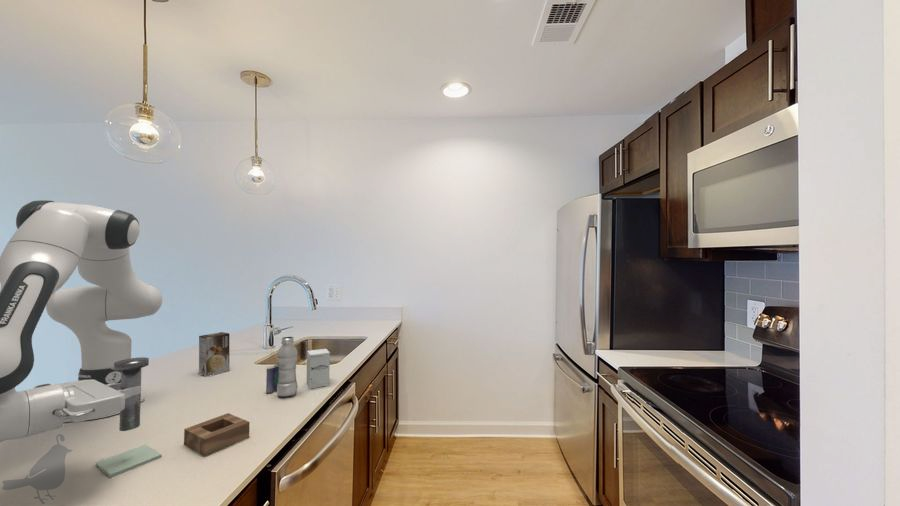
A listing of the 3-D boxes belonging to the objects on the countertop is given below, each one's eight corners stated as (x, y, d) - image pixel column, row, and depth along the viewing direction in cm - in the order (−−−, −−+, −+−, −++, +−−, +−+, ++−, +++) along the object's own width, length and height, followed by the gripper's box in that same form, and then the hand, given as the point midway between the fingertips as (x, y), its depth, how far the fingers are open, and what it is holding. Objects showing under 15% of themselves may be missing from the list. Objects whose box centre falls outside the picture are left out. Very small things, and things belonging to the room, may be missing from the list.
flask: (268, 394, 120) (269, 363, 120) (263, 393, 121) (264, 362, 122) (292, 386, 128) (292, 357, 128) (287, 384, 129) (287, 356, 130)
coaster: (95, 465, 78) (95, 462, 78) (145, 446, 86) (145, 444, 86) (110, 477, 74) (110, 474, 74) (161, 456, 81) (161, 454, 81)
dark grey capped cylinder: (107, 429, 79) (109, 362, 79) (141, 419, 84) (142, 356, 84) (117, 436, 76) (119, 365, 76) (151, 425, 81) (153, 359, 81)
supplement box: (308, 389, 124) (309, 354, 125) (306, 383, 131) (306, 350, 131) (329, 386, 128) (330, 352, 128) (326, 380, 134) (326, 347, 135)
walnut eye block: (183, 444, 87) (184, 428, 87) (227, 427, 96) (228, 413, 96) (204, 456, 82) (205, 439, 82) (249, 437, 91) (249, 421, 91)
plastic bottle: (289, 399, 115) (290, 340, 116) (272, 398, 116) (272, 339, 117) (301, 392, 121) (302, 336, 122) (284, 391, 123) (285, 335, 123)
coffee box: (222, 368, 149) (222, 331, 150) (229, 371, 146) (230, 333, 146) (197, 374, 141) (198, 335, 142) (205, 377, 138) (206, 337, 138)
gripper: (62, 402, 64) (155, 380, 76) (34, 384, 74) (120, 367, 86) (61, 437, 64) (154, 409, 76) (33, 413, 74) (119, 392, 86)
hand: (135, 387), depth 81 cm, fingers closed on dark grey capped cylinder, 3 cm apart
